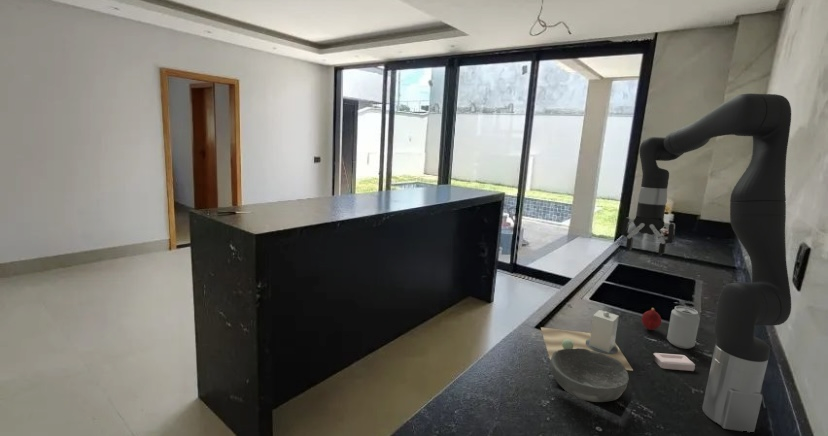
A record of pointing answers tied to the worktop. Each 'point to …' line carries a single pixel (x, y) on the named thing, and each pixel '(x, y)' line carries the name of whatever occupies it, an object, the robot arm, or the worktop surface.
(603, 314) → the small milk carton
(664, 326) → the worktop surface
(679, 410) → the worktop surface
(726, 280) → the worktop surface
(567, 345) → the ball
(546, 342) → the board
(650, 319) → the onion
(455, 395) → the worktop surface
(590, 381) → the bowl
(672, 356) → the soap bar
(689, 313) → the can
